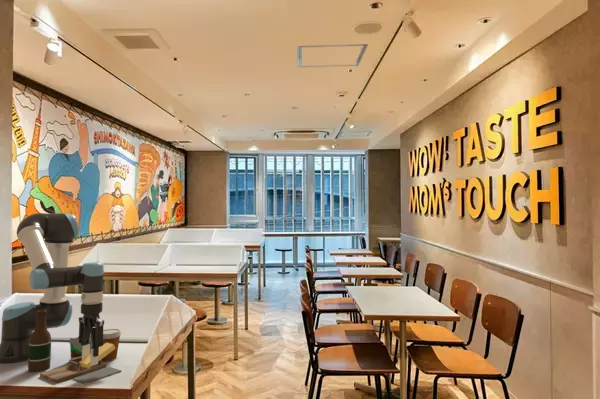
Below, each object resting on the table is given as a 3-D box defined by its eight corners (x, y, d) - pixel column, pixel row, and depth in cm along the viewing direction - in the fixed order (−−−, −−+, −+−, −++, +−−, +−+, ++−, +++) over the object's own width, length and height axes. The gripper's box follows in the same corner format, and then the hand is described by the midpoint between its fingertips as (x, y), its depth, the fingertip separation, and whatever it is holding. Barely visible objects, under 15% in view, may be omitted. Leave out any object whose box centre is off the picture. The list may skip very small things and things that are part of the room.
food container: (80, 363, 172) (81, 339, 172) (68, 362, 173) (69, 338, 173) (100, 354, 184) (101, 331, 184) (88, 353, 185) (89, 331, 186)
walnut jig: (39, 377, 156) (40, 366, 156) (89, 362, 173) (89, 352, 173) (56, 383, 150) (56, 372, 150) (106, 367, 167) (106, 357, 167)
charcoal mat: (73, 379, 154) (73, 378, 154) (109, 367, 166) (109, 366, 166) (84, 384, 149) (84, 382, 149) (121, 371, 162) (121, 370, 162)
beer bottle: (29, 367, 166) (32, 309, 168) (51, 365, 169) (54, 307, 171) (25, 374, 159) (28, 312, 160) (48, 371, 162) (50, 311, 163)
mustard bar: (78, 366, 154) (80, 348, 155) (107, 359, 164) (108, 342, 165) (86, 369, 151) (87, 350, 152) (114, 361, 161) (115, 344, 162)
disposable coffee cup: (104, 364, 171) (105, 335, 171) (92, 359, 176) (93, 332, 176) (125, 357, 179) (125, 330, 180) (112, 353, 184) (113, 327, 185)
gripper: (69, 301, 158) (67, 362, 157) (96, 306, 149) (94, 370, 147) (88, 298, 164) (86, 356, 163) (114, 303, 155) (112, 364, 154)
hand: (89, 363), depth 155 cm, fingers closed on mustard bar, 5 cm apart
